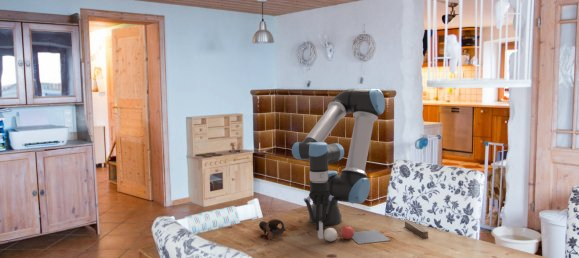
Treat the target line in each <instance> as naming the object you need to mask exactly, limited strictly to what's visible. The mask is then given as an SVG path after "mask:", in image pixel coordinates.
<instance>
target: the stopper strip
mask: <svg viewBox="0 0 579 258" xmlns="http://www.w3.org/2000/svg"><path fill="white" fill-rule="evenodd" d="M404 227H405V228H406V229H408V230H409V231H411V232H412V233H414V234H416V235H418V237H420V238H422V239H427V238H429V231H428V230H426V229H425V228H423V227H421V226H419V225H417V224H416V223H414V222H413V221H411V220H404Z"/></svg>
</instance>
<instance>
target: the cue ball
mask: <svg viewBox="0 0 579 258" xmlns="http://www.w3.org/2000/svg"><path fill="white" fill-rule="evenodd" d="M337 237H338V232H337V230H336V229H335V228H333V227H328V228H325V230H323V239H325V240H326V241H327V242H329V243H330V242H334V241H335V240H337Z"/></svg>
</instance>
